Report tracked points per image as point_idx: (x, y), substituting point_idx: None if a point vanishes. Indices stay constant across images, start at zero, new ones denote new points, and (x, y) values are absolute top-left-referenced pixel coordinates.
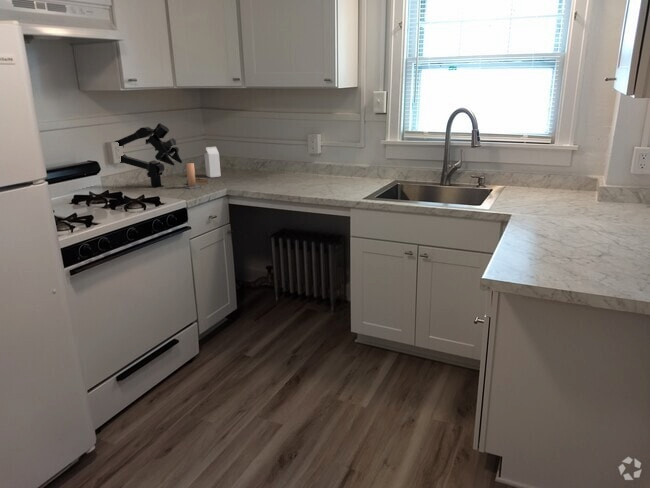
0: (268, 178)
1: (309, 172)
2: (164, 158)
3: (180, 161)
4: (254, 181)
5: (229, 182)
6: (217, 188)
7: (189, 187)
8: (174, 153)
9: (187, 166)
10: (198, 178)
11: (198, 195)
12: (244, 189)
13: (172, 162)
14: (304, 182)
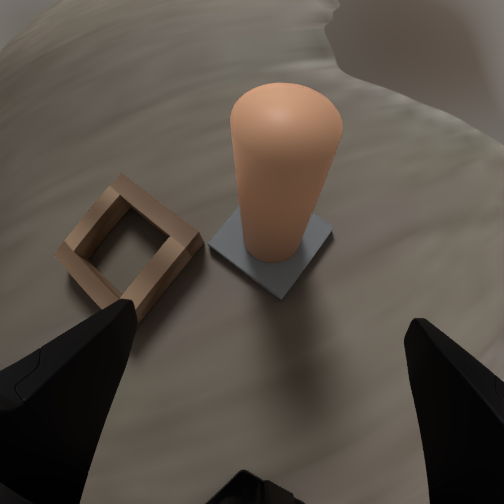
0: (76, 37)
1: (35, 18)
2: (487, 492)
3: (124, 326)
4: (119, 40)
5: (117, 101)
6: None
7: (324, 234)
8: (5, 474)
9: (334, 155)
10: (75, 253)
11: (453, 140)
12: (289, 22)
13: (449, 339)
14: None
